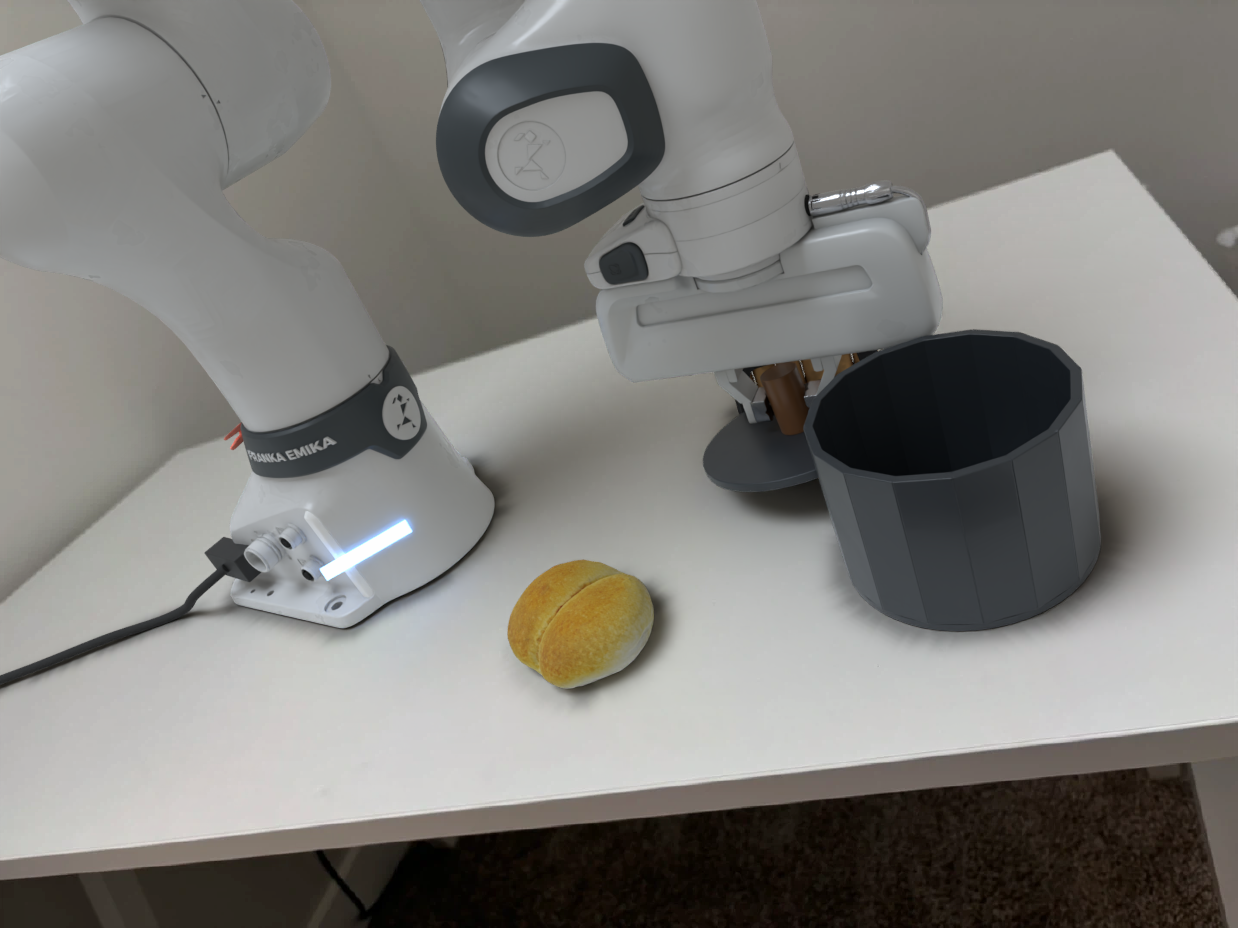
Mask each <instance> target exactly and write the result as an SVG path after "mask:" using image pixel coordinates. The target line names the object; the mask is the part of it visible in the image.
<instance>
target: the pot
mask: <svg viewBox="0 0 1238 928" xmlns="http://www.w3.org/2000/svg"><path fill="white" fill-rule="evenodd" d="M1086 401H1087V400H1086V393H1085V384H1084V375H1083V369H1082V367H1080V365H1079V364H1078V363H1077V362H1076V361H1075V360H1073V358H1072V357H1071V356H1070V355H1069V354H1068V353H1066V351H1065V350H1063V348H1062V347H1061V346H1060V345H1059V344H1056V343H1053V342H1050V341H1047V340H1044V339H1041V338H1038V337H1036V336H1033V335H1029V334H1028V333H1027V334H1026V333H1023V332H1020V331H1010V330H1008V331H1007V330H991V329H977V328H976V329H975V328H973V329H964V330H957V331H951V332H944V333H936V334H933V335H929V336H923V337H919V338H916V339H913V340H910V341H907V342H904V343H901V344H898V345H895V346H892V347H889V348H886V349H881V350H878V351H877V352H875V353H873V354H872V355H870V356H868V357H866V358H865V359H863V360H861V361H859V362H858V363H856V364H854V365H852V366H851V367H849V368H847V369H845V370H844V371H842V372H840V373H839V374H837V375H836V376H835V377H834V378H833V380H832V381H831V382H830V383H829V384H828V385H827V386H826V387H825V388H824V389H823V390H822V391H821V392H820V393H819V394H818V395H817V396H816V397H815V398H814V399H813V400H812V403H811V406H810V409H809V412H808V415H807V418H806V421H805V424H804V427H803V430H804V433H805V436H806V440H807V443H808V446H809V449H810V453H811V456H812V459H813V462H814V466H815V469H816V472H817V475H818V478H817V479H818V481H819V485H820V488H821V491H822V495H823V498H824V501H825V505H826V507H827V511H828V515H829V518H830V521H831V524H832V527H833V530H834V534H835V537H836V540H837V543H838V547H839V550H840V553H841V556H842V559H843V562H844V565H845V568H846V571H847V573H848V577H849V579H850V581H851V584H852V586H853V587H854V589H855V590H856V591H857V593H858V594H859V596H860V597H861V598H862V599H863V600H864V601H866V602H867V604H868V605H870V606H871V607H872V608H873V609H876V610H877V611H878V612H880V613H881V614H883V615H885V616H887V617H890V618H891V619H892V620H896V621H899V622H901V623H904V624H907V625H910V626H914V627H918V628H922V629H927V630H928V629H929V630H936V631H945V632H947V631H950V632H970V631H981V630H988V629H995V628H1000V627H1004V626H1009V625H1013V624H1016V623H1019V622H1022V621H1025V620H1028V619H1031V618H1033V617H1036V616H1037V615H1040V614H1042V613H1045V612H1046V611H1048V610H1050V609H1051V608H1054V607H1055V606H1057V605H1059V604H1060V603H1061V602H1063V601H1064V600H1065V599H1067V598H1068V597H1070V595H1072V594H1073V593H1074V592H1076V590H1077V589H1078V588H1079V587H1080V586H1081V585H1083V584H1084V582H1085V581H1086V579H1087V578H1088V577H1089V575H1091V573H1092V571H1093V569H1094V567H1095V566H1096V563H1097V561H1098V559H1099V555H1100V552H1101V548H1102V535H1101V521H1100V520H1101V519H1100V509H1099V499H1098V492H1097V483H1096V476H1095V467H1094V460H1093V459H1094V458H1093V449H1092V442H1091V435H1090V426H1089V418H1088V410H1087V402H1086Z"/></svg>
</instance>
